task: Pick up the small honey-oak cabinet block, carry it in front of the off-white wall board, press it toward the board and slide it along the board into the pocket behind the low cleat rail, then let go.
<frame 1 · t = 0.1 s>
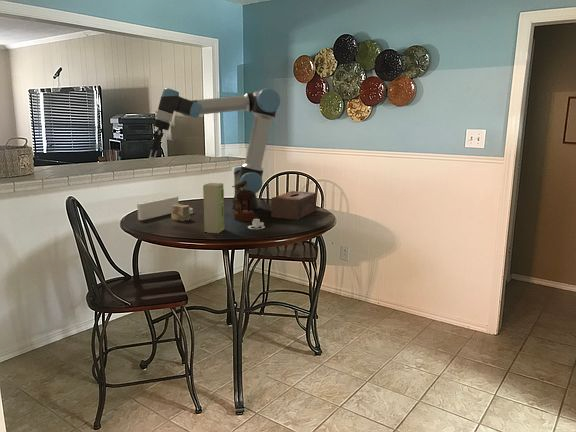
hand: (150, 162, 230), 28 cm above the table, tool tilted 20°, fingers open, 13 cm apart
tissue box cover: (294, 214, 247), on the table
pale green tall block: (215, 231, 209), on the table
teacup and saucer: (263, 228, 216), on the table
brown upright irregular piece: (245, 219, 235), on the table
wall board: (167, 216, 238), on the table
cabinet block: (181, 219, 233), on the table
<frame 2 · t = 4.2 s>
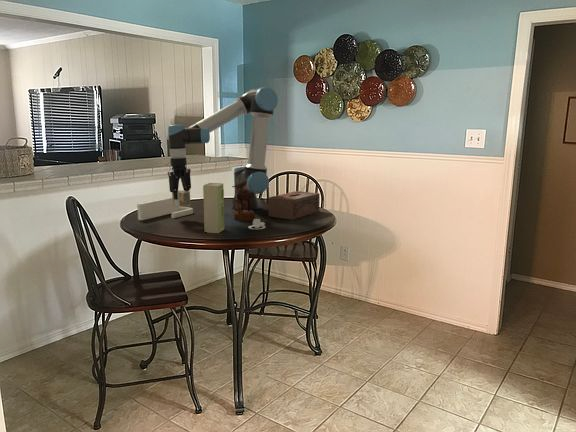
hand: (181, 204, 231), 7 cm above the table, tool pointing down, fingers closed on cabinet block, 5 cm apart
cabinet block: (181, 205, 231), point 7 cm above the table, touching gripper
when the fingers open (1 cm above the table, at t = 10.5 s): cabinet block stays where it is, resting in wall board.
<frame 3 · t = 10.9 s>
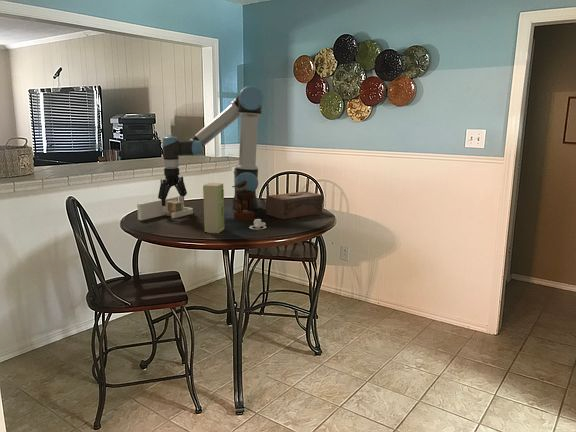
hand: (173, 210, 243), 2 cm above the table, tool pointing down, fingers open, 11 cm apart
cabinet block: (174, 215, 243), resting in wall board
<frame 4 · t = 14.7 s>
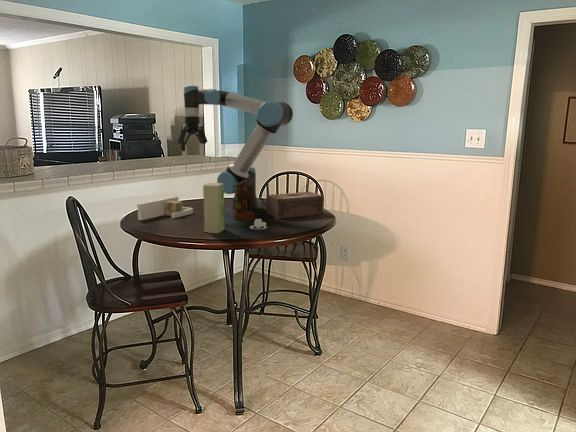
hand: (193, 156, 253), 29 cm above the table, tool pointing down, fingers open, 13 cm apart
at the end: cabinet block inside the target area (0.2 cm from its centre), resting in wall board; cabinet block tilted 0°; the gripper is holding nothing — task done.
